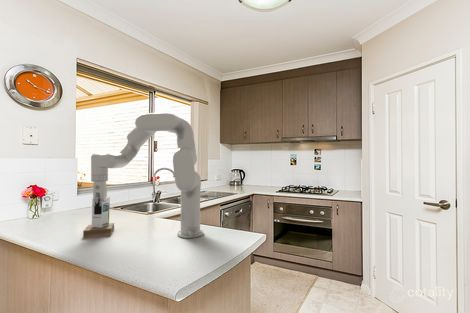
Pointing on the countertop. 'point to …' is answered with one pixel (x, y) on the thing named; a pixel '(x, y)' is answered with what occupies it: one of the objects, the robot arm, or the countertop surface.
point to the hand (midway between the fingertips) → (99, 212)
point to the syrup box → (103, 218)
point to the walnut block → (98, 231)
